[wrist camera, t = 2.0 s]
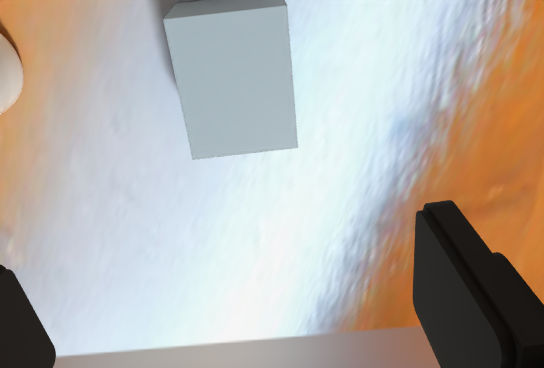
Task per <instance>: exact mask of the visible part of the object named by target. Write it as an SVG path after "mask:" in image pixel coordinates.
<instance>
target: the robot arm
mask: <svg viewBox="0 0 544 368" xmlns="http://www.w3.org/2000/svg"><path fill="white" fill-rule="evenodd" d="M413 304H414V308H415V311H416V314H417V316H418V318H419V320H420V323H421V325H422V327H423V329H424V331H425V334H426V336H427V338H428V340H429V343H430V345H431V347H432V349H433V352H434V353H435V356H436V358H437V360H438V363H439V365H440V367H441V368H544V305H543V304H542V302H541V301H540V300H539V299H538V297H537V296H536V295H535V293H534V292H533V291H532V290H531V288H530V287H529V286H528V285H527V283H526V282H525V281H524V280H523V278H522V277H521V276H520V275H519V273H518V272H517V271H516V269H515V268H514V267H513V266H512V264H511V263H510V262H509V261H508V259H507V258H506V257H505V256H504V255H503V254H501V253H498V252H496V253H492V252H491V251H490V249H489V248H488V247H487V245H486V244H485V243H484V241H483V240H482V239H481V237H480V236H479V235H478V234H477V232H476V231H475V230H474V228H473V227H472V226H471V224H470V223H469V222H468V220H467V219H466V218H465V216H464V215H463V214H462V213H461V211H460V210H459V209H458V207H457V206H456V205H455V203H454V202H453V201H451V200H447V201H440V202H433V203H426V204H425V205H424V208H423V210H422V211H418V212H417V213H416V225H415V250H414V276H413ZM55 358H56V352H55V348H54V345H53V344H52V342H51V340H50V338H49V336H48V335H47V333H46V331H45V329H44V327H43V325H42V324H41V322H40V320H39V318H38V316H37V314H36V313H35V311H34V309H33V307H32V305H31V303H30V302H29V300H28V298H27V296H26V294H25V292H24V291H23V289H22V287H21V285H20V283H19V282H18V280H17V278H16V276H15V274H14V273H13V271H11V270H9V269H6V268H5V267H4V266H2V265H0V368H53V365H54V363H55Z"/></svg>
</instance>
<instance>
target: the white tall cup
mask: <svg viewBox="0 0 544 368" xmlns="http://www.w3.org/2000/svg"><path fill="white" fill-rule="evenodd" d="M23 82H24V74H23V68H22V64H21V61H20V59H19V56H18V54H17V53H16V51H15V49H14V48H13V46H12V45H11V44H10V43H9V41H8V40H7V39H6V38H5V37H4V36H3V35H2V34H1V33H0V115H1V114H3V113H4V112H5V111H6V110H7V109H9V108H10V107H11V106H12V105H13V104H14V103H15V102H16V100H17V99H18V97H19V96H20V94H21V91H22V88H23Z"/></svg>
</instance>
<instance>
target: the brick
mask: <svg viewBox="0 0 544 368" xmlns="http://www.w3.org/2000/svg"><path fill="white" fill-rule="evenodd" d="M163 22H164V26H165V31H166V36H167V41H168V45H169V50H170V55H171V59H172V64H173V69H174V74H175V78H176V83H177V88H178V92H179V97H180V102H181V107H182V111H183V116H184V121H185V125H186V130H187V135H188V140H189V144H190V149H191V154H192V158H193V160H194V159H203V158H212V157H221V156H230V155H239V154H247V153H256V152H265V151H274V150H283V149H291V148H298V141H297V128H296V115H295V102H294V89H293V76H292V63H291V50H290V37H289V24H288V11H287V4H286V2H285V0H200V1H192V2H183V3H175V5H174V6H173V7H172V9H171V10H170V11H169V13H168V14H167V15H166V16H165V18H164V19H163Z"/></svg>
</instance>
